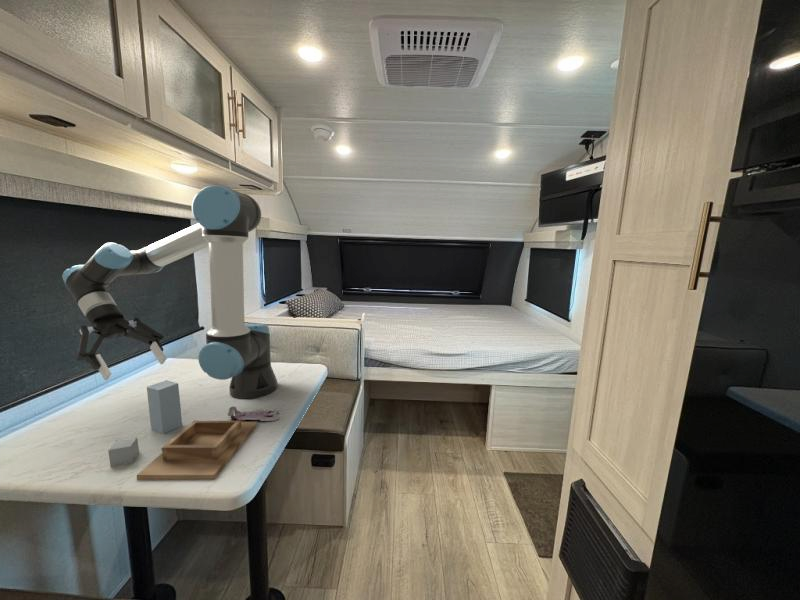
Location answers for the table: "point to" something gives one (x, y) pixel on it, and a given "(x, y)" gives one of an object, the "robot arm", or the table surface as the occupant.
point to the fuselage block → (164, 406)
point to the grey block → (123, 451)
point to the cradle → (199, 450)
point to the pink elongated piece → (253, 414)
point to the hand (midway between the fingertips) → (137, 368)
